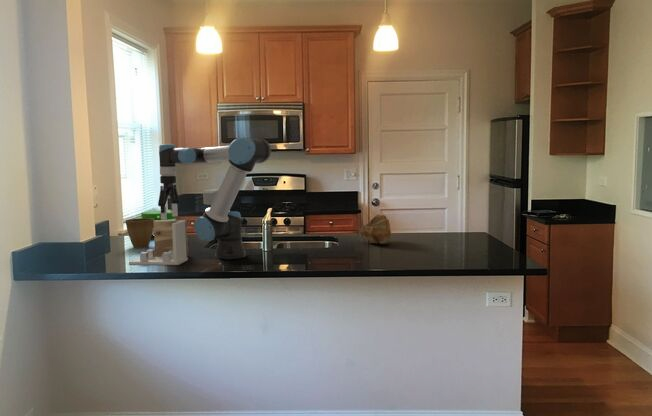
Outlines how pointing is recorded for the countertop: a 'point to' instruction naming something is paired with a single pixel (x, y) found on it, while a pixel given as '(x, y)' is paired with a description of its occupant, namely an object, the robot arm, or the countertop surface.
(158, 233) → the maple door
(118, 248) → the countertop surface
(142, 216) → the tank
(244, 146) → the robot arm
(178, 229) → the cabinet base
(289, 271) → the countertop surface
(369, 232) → the rough brown rock
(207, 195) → the hammer
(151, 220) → the plant pot
